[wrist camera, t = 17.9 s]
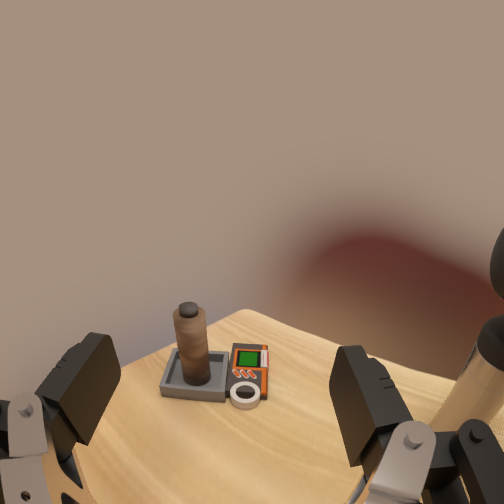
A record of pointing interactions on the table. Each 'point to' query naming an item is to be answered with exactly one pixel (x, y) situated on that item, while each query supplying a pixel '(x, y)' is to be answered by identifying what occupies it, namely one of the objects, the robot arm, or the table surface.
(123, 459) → the table surface
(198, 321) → the pepper mill
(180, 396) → the tray
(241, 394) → the electronic device
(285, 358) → the table surface
